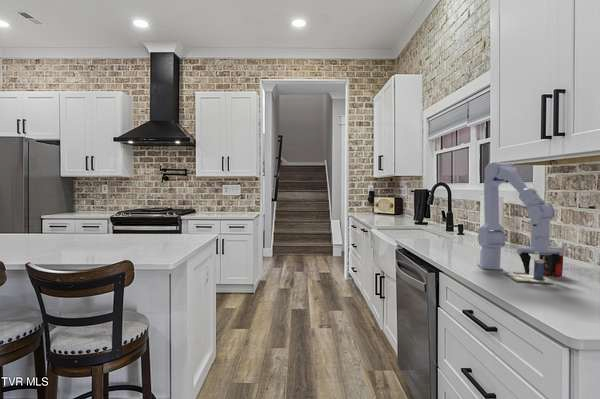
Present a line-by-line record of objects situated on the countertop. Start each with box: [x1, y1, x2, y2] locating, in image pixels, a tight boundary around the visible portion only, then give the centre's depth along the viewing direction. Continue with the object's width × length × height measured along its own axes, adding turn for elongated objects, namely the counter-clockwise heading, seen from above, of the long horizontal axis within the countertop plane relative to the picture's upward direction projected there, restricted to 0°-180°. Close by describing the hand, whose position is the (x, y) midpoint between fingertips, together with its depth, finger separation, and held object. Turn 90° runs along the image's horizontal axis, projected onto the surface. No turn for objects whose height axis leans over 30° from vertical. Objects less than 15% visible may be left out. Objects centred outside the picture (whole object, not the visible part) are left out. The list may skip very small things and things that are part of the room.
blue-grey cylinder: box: [533, 258, 544, 280], centre depth 143 cm, size 3×3×7 cm
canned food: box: [538, 245, 564, 278], centre depth 154 cm, size 8×8×11 cm
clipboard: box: [503, 271, 554, 285], centre depth 146 cm, size 14×12×1 cm
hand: (538, 274), depth 143 cm, fingers open, 7 cm apart
